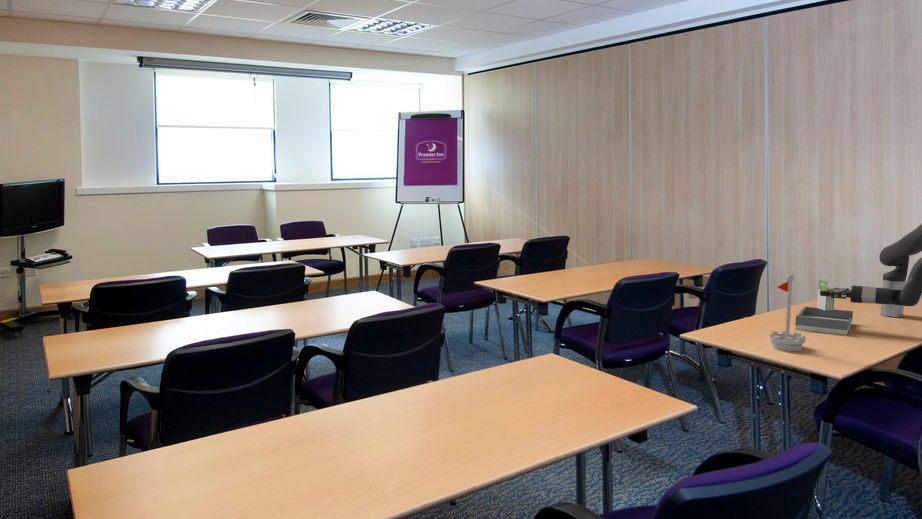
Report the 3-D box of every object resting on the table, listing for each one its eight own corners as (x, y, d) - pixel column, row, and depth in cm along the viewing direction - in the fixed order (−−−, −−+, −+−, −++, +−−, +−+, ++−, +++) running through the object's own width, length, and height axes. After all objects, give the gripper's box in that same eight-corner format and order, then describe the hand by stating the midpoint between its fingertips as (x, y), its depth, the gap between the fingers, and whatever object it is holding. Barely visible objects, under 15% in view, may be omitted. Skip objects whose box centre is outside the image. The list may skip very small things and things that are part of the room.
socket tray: (803, 318, 306) (804, 306, 305) (852, 323, 294) (852, 311, 293) (795, 329, 287) (795, 316, 286) (846, 334, 275) (847, 321, 274)
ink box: (834, 311, 286) (835, 281, 284) (825, 311, 286) (826, 281, 284) (825, 308, 292) (826, 279, 291) (816, 308, 293) (818, 279, 291)
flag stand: (793, 342, 265) (797, 271, 261) (811, 351, 252) (815, 276, 248) (762, 343, 264) (765, 271, 260) (779, 352, 252) (782, 277, 248)
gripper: (865, 283, 285) (823, 281, 295) (862, 288, 274) (819, 285, 283) (864, 300, 286) (822, 297, 295) (861, 306, 274) (818, 302, 284)
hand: (821, 291), depth 289 cm, fingers closed on ink box, 8 cm apart
